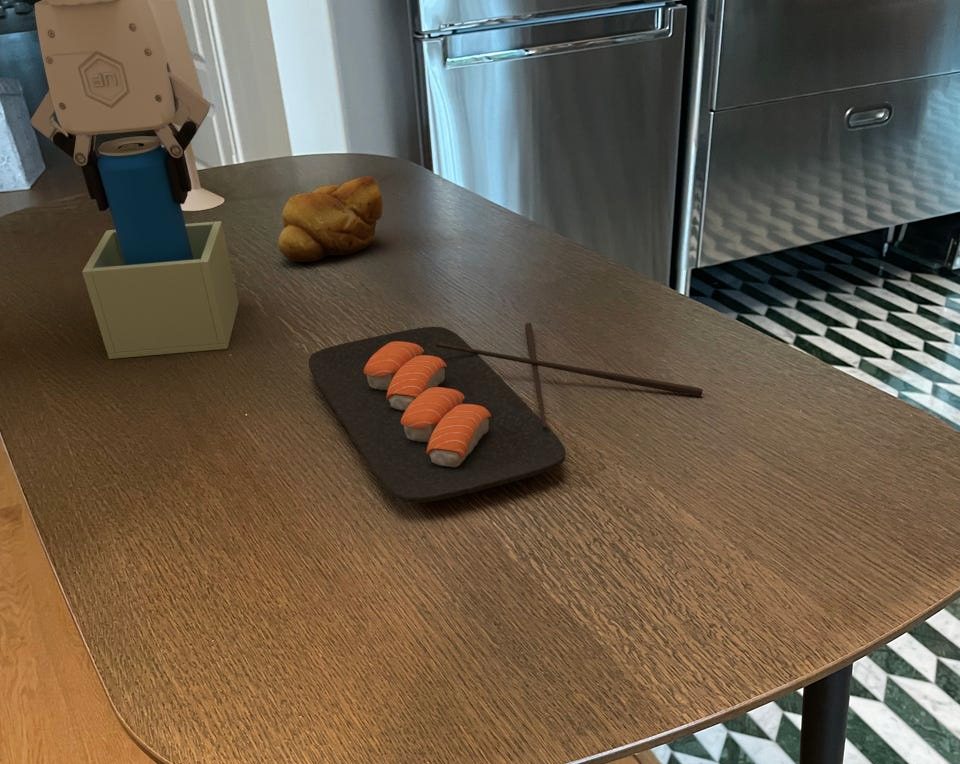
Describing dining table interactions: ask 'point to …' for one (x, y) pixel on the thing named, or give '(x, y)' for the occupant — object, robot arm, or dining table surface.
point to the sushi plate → (443, 412)
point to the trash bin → (164, 297)
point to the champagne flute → (184, 69)
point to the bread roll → (331, 220)
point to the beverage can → (143, 201)
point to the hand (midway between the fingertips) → (143, 201)
